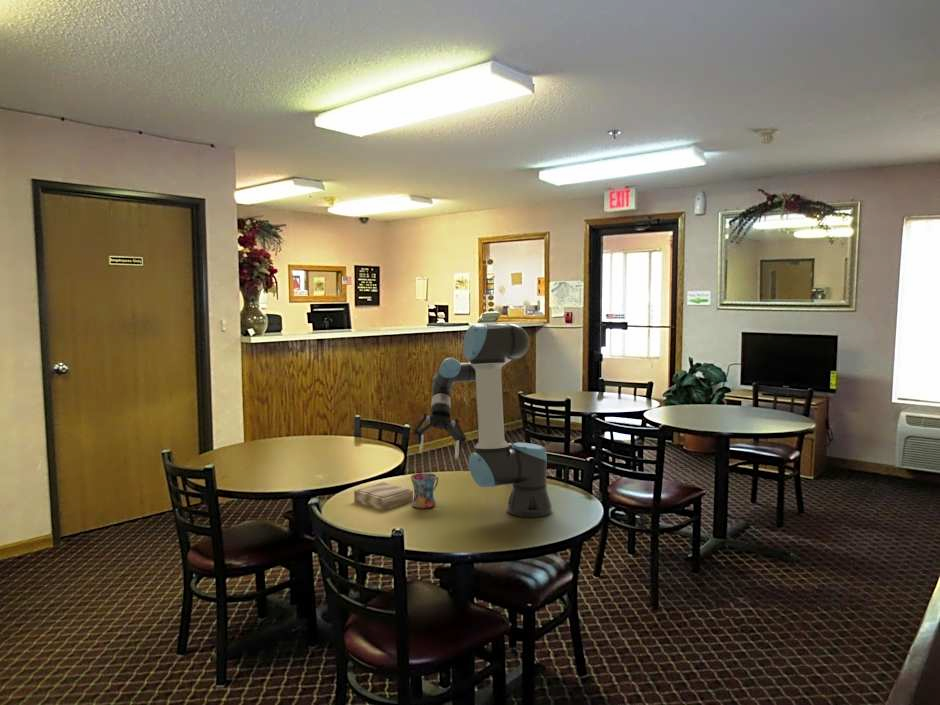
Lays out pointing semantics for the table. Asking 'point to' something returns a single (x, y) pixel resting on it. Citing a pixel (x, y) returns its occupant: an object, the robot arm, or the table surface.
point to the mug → (424, 489)
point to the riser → (383, 496)
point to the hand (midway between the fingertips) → (439, 454)
